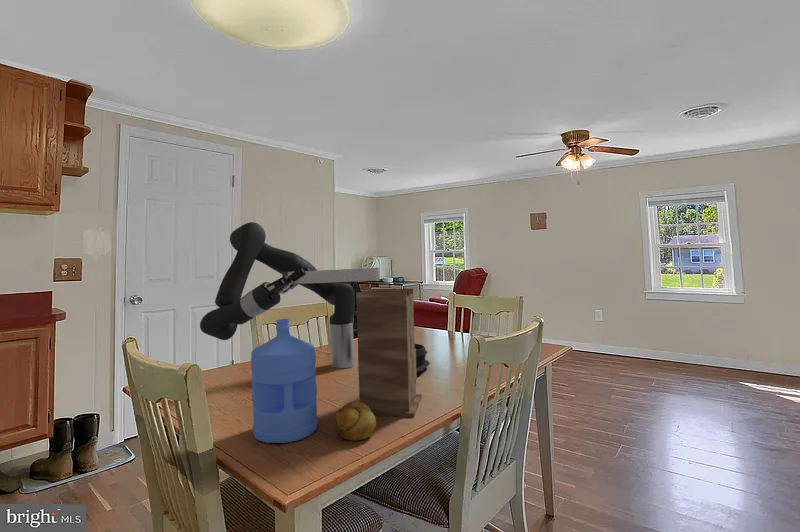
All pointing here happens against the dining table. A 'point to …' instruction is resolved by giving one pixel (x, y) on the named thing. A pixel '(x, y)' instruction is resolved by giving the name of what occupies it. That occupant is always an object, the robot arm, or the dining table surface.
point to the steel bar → (337, 275)
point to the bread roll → (355, 421)
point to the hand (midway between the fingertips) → (306, 271)
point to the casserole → (420, 358)
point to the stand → (387, 351)
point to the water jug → (284, 388)
